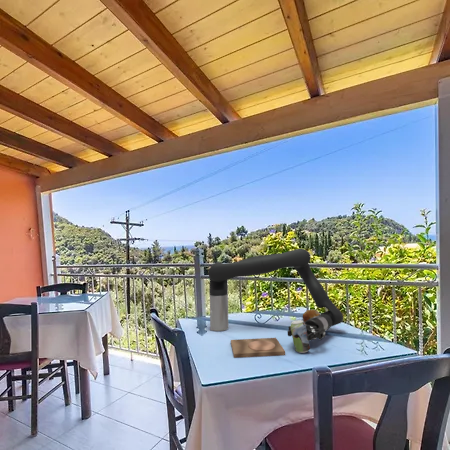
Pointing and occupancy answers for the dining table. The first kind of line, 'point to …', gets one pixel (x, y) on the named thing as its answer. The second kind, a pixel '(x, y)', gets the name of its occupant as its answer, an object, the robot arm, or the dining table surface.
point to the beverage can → (299, 336)
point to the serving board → (256, 347)
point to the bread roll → (310, 314)
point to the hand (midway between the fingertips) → (298, 336)
